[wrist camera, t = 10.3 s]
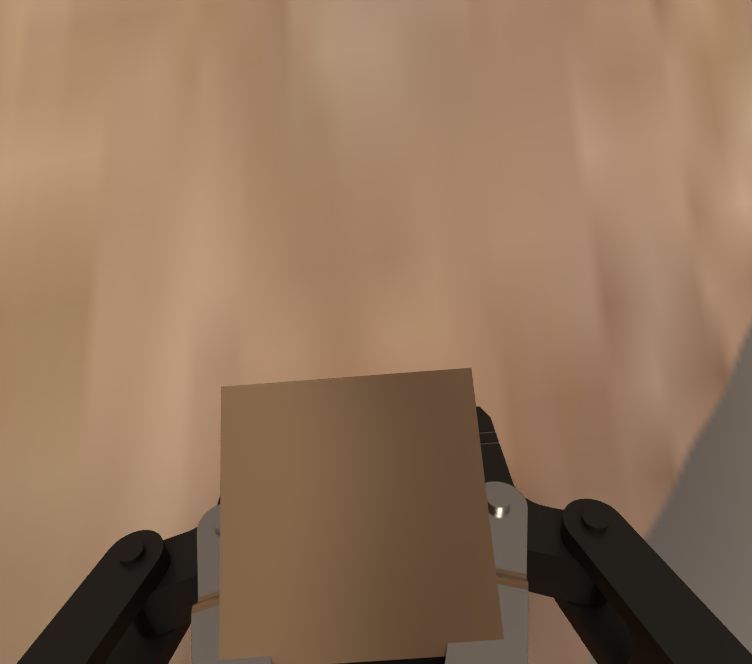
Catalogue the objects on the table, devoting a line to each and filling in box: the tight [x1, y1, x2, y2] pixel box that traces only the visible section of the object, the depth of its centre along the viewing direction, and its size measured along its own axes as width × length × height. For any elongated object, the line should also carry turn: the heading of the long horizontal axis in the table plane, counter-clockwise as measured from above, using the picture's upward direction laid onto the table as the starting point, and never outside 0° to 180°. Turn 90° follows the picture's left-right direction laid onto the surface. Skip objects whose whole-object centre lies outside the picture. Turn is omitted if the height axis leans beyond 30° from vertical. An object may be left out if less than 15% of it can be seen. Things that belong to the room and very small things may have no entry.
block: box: [219, 368, 504, 664], centre depth 14 cm, size 4×4×11 cm
